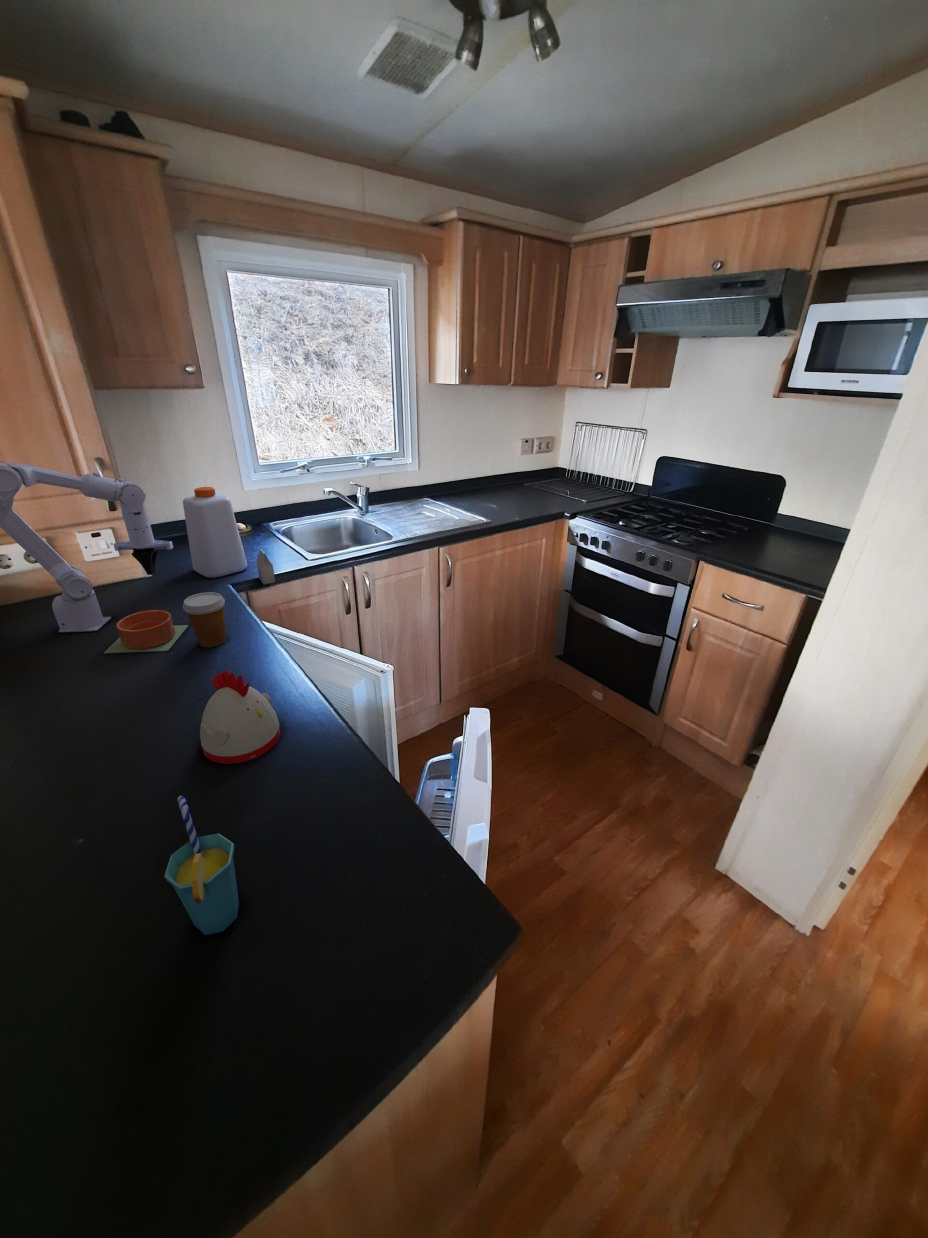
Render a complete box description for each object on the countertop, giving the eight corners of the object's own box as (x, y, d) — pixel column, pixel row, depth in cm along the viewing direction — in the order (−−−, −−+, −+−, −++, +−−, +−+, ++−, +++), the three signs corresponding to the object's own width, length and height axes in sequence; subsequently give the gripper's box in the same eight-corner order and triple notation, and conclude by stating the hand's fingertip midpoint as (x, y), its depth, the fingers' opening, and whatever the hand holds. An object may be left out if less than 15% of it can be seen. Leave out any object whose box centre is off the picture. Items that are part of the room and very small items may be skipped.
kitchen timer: (245, 771, 89) (229, 701, 82) (185, 752, 93) (165, 684, 86) (295, 725, 101) (284, 660, 94) (239, 709, 105) (225, 647, 98)
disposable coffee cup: (217, 652, 126) (207, 608, 120) (184, 648, 127) (172, 605, 122) (240, 634, 134) (231, 593, 129) (208, 631, 136) (198, 589, 130)
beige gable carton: (263, 584, 165) (258, 555, 160) (259, 577, 170) (254, 549, 166) (275, 582, 167) (270, 553, 162) (270, 575, 172) (265, 547, 167)
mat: (103, 653, 124) (103, 652, 124) (130, 627, 137) (130, 626, 137) (167, 650, 126) (167, 650, 126) (188, 625, 138) (188, 624, 138)
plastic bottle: (252, 569, 177) (238, 488, 164) (209, 581, 167) (190, 495, 154) (231, 559, 186) (216, 481, 173) (189, 569, 176) (170, 488, 163)
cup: (173, 886, 69) (144, 806, 63) (232, 857, 74) (211, 779, 67) (195, 974, 59) (163, 890, 53) (262, 935, 64) (241, 853, 57)
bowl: (114, 652, 125) (107, 632, 122) (134, 629, 135) (128, 611, 133) (166, 648, 127) (161, 629, 124) (182, 627, 137) (177, 608, 135)
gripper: (172, 522, 142) (183, 568, 148) (117, 523, 141) (130, 569, 147) (161, 529, 136) (173, 576, 142) (104, 530, 134) (118, 578, 141)
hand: (151, 573), depth 144 cm, fingers closed
